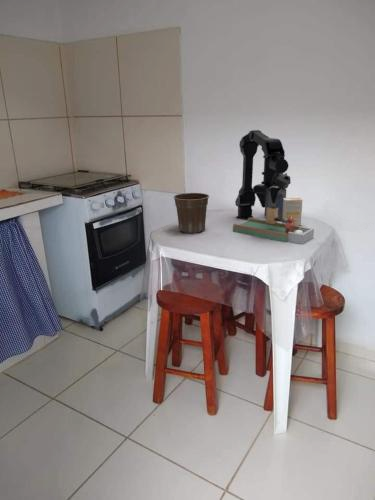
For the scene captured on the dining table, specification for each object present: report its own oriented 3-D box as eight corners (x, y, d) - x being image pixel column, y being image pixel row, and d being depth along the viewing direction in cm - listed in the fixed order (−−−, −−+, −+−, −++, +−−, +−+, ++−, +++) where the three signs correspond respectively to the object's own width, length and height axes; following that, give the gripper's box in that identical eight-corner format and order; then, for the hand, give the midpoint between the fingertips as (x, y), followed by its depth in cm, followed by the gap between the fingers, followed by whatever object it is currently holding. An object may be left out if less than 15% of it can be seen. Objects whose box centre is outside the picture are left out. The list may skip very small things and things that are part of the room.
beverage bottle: (277, 213, 210) (280, 165, 201) (288, 219, 197) (292, 169, 189) (259, 214, 208) (261, 166, 199) (269, 221, 196) (272, 170, 187)
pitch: (232, 231, 181) (233, 223, 179) (249, 224, 191) (249, 216, 189) (300, 245, 161) (301, 235, 159) (314, 236, 171) (315, 227, 169)
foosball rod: (264, 228, 175) (265, 207, 172) (270, 226, 178) (271, 205, 175) (289, 233, 167) (291, 211, 164) (295, 230, 171) (296, 209, 168)
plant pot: (173, 225, 192) (172, 193, 186) (206, 224, 193) (206, 191, 188) (175, 235, 177) (174, 200, 171) (211, 234, 178) (211, 198, 172)
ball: (300, 241, 166) (291, 239, 168) (304, 238, 168) (296, 237, 171) (301, 232, 164) (292, 230, 167) (305, 229, 167) (296, 228, 169)
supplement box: (299, 224, 189) (301, 197, 185) (300, 227, 185) (302, 199, 181) (281, 224, 190) (283, 197, 186) (282, 227, 186) (284, 199, 181)
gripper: (277, 174, 157) (275, 212, 162) (297, 168, 170) (295, 203, 176) (253, 172, 164) (251, 208, 169) (274, 166, 177) (272, 200, 182)
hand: (268, 205), depth 174 cm, fingers open, 9 cm apart
